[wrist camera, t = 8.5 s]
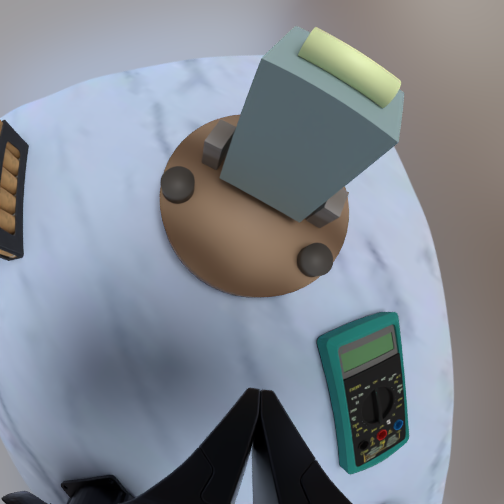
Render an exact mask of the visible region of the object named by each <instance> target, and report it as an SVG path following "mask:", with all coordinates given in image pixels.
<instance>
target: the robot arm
mask: <svg viewBox="0 0 504 504" xmlns="http://www.w3.org/2000/svg"><path fill="white" fill-rule="evenodd" d="M251 447H252V482H253V504H352V503H351V502H350V501H349V500H348V499H347V498H346V497H345V496H344V494H343V493H342V492H341V491H340V490H339V489H338V488H337V487H336V486H335V485H334V483H333V482H332V481H331V480H330V479H329V477H328V476H327V475H326V473H325V472H324V470H323V469H322V468H321V466H320V465H319V463H318V461H317V460H315V457H314V456H313V454H312V452H311V451H310V449H309V448H308V446H307V445H306V443H305V442H304V440H303V438H302V437H301V435H300V434H299V432H298V430H297V429H296V427H295V426H294V424H293V422H292V421H291V419H290V418H289V416H288V414H287V413H286V411H285V409H284V408H283V406H282V404H281V403H280V401H279V399H278V398H277V396H276V394H275V393H274V391H272V390H261V391H260V389H255V388H248V389H247V390H246V391H245V392H244V393H243V395H242V396H241V397H240V398H239V400H238V401H237V402H236V403H235V405H234V406H233V407H232V408H231V410H230V411H229V412H228V413H227V414H226V416H225V417H224V418H223V419H222V420H221V422H220V423H219V424H218V425H217V426H216V427H215V429H214V430H213V431H212V432H211V433H210V434H209V436H208V437H207V438H206V439H205V440H204V441H203V442H202V444H201V445H200V446H199V448H197V449H196V450H195V451H194V452H193V453H192V455H191V456H190V457H189V458H188V459H187V460H186V461H185V462H184V463H183V464H182V465H180V466H179V467H178V468H177V469H176V470H174V471H173V472H172V473H171V474H169V475H168V476H167V477H165V478H164V479H163V480H161V481H160V482H159V483H157V484H156V485H154V486H153V487H152V488H150V489H149V490H147V491H146V492H144V493H143V494H141V495H140V496H138V497H136V498H133V497H132V496H131V495H130V494H129V493H128V492H127V491H126V490H125V489H124V488H123V486H122V485H121V484H120V483H119V481H118V480H117V479H116V478H115V477H114V476H111V475H107V476H101V477H95V478H88V479H81V480H72V481H63V482H62V483H61V487H62V488H63V489H64V491H65V492H66V493H67V494H68V496H69V497H70V498H69V500H68V502H67V504H235V501H236V498H237V495H238V491H239V488H240V485H241V482H242V479H243V475H244V472H245V469H246V465H247V462H248V459H249V455H250V451H251ZM110 480H112V481H110ZM66 486H67V487H66ZM2 500H3V501H4V502H5V503H6V504H47V503H46V502H44V501H42V500H41V499H39V498H38V497H36V496H35V495H33V494H31V493H30V492H27V491H20V492H14V493H10V494H7V495H6V496H4V497H2ZM50 504H51V503H50Z"/></svg>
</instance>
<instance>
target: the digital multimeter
mask: <svg viewBox="0 0 504 504" xmlns="http://www.w3.org/2000/svg"><path fill="white" fill-rule="evenodd" d="M317 345H318V349H319V353H320V356H321V360H322V364H323V368H324V372H325V376H326V380H327V384H328V388H329V393H330V398H331V403H332V408H333V413H334V418H335V425H336V433H337V441H338V451H339V463H340V466H341V467H342V468H343V469H344V470H345V471H346V472H347V473H348V474H354V473H357V472H360V471H362V470H365V469H368V468H370V467H372V466H374V465H376V464H378V463H380V462H382V461H383V460H385V459H386V458H388V457H389V456H390V455H392V454H393V453H394V452H396V451H397V450H398V449H399V448H400V447H402V446H403V445H404V444H405V443H406V442H407V441H408V439H409V427H408V414H407V400H406V387H405V375H404V365H403V354H402V344H401V335H400V326H399V318H398V314H397V313H396V312H380V313H377V314H373V315H370V316H367V317H364V318H361V319H358V320H355V321H353V322H350V323H348V324H345V325H343V326H341V327H339V328H336V329H334V330H332V331H330V332H328V333H326V334H323V335H321V336H320V337H319V338H318V340H317ZM343 381H344V382H343ZM344 387H345V388H344ZM345 392H346V394H345ZM346 398H347V400H346ZM347 405H348V406H347ZM348 411H349V413H348ZM349 418H350V419H349ZM362 421H363V422H362ZM364 423H365V424H364ZM350 425H351V426H350ZM351 432H352V433H351ZM353 447H354V448H353ZM354 455H355V456H354Z"/></svg>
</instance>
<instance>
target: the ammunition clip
mask: <svg viewBox="0 0 504 504" xmlns="http://www.w3.org/2000/svg"><path fill="white" fill-rule="evenodd" d="M2 122H3V123H2ZM2 122H1V120H0V258H2V259H5V260H8V261H10V260H14V259H17V258H21V257H23V255H24V252H23V197H24V182H25V171H26V162H27V154H28V147H29V146H28V144H27V143H26V142H25V141H24V140H23V139H22V138H21V137H20V136H19V135H18V134H17V133H16V132H15V130H14V129H13V128H12V127H11V126H10V125H9V124H8V123H7V122H6V120H3V121H2Z"/></svg>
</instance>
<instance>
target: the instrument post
mask: <svg viewBox="0 0 504 504" xmlns="http://www.w3.org/2000/svg"><path fill="white" fill-rule="evenodd" d="M400 86H401V81H400V80H399V79H398V78H396V77H395V76H394V75H392V74H391V73H389V72H388V71H387V70H386V69H384V68H383V67H381V66H380V65H378V64H377V63H375V62H374V61H373V60H371V59H370V58H368V57H366V56H365V55H363V54H362V53H360V52H359V51H357V50H356V49H354V48H352V47H351V46H349V45H348V44H346V43H344V42H342V41H341V40H339V39H337V38H335V37H334V36H332V35H330V34H328V33H326V32H324V31H323V30H320V29H319V28H317V27H315V28H314V29H313V30H312V32H311V33H310V32H308V31H305V30H304V29H302V28H300V27H298V26H295V27H294V28H293V29H292V30H291V31H290V32H289V33H288V34H286V35H285V36H284V37H283V38H282V39H281V40H280V41H279V42H278V43H277V44H276V45H275V46H274V47H273V48H272V49H271V50H269V52H268V53H266V54H265V55H264V56H263V57H262V59H261V61H260V64H259V66H258V69H257V71H256V74H255V77H254V79H253V82H252V85H251V87H250V90H249V93H248V95H247V98H246V101H245V104H244V106H243V109H242V112H241V115H240V118H239V121H238V123H237V126H236V129H235V132H234V135H233V138H232V141H231V144H230V147H229V150H228V153H227V156H226V159H225V162H224V165H223V168H222V171H221V174H220V179H222V180H224V181H226V182H228V183H230V184H231V185H233V186H235V187H237V188H239V189H241V190H243V191H244V192H246V193H248V194H250V195H252V196H253V197H255V198H257V199H259V200H261V201H262V202H264V203H266V204H268V205H270V206H271V207H273V208H275V209H277V210H278V211H280V212H282V213H284V214H285V215H287V216H289V217H291V218H292V219H294V220H296V221H298V222H299V223H300V222H301V221H302V220H303V219H305V218H306V217H307V216H308V215H310V214H311V213H312V212H313V211H315V210H316V209H317V208H318V207H320V206H321V205H322V204H323V203H325V202H326V201H327V200H328V199H329V198H331V197H332V196H333V195H334V194H336V193H337V192H338V191H339V190H341V189H342V188H343V187H344V186H346V185H347V184H348V183H349V182H350V181H352V180H353V179H354V178H355V177H357V176H358V175H359V174H360V173H362V172H363V171H364V170H365V169H367V168H368V167H369V166H370V165H371V164H373V163H374V162H375V161H376V160H378V159H379V158H380V157H381V156H382V155H384V154H385V153H386V152H387V151H389V150H390V149H391V148H392V147H393V146H395V145H396V144H397V143H398V141H399V135H400V126H401V119H402V111H403V101H404V92H402V91H401V90H400V89H399V88H400Z"/></svg>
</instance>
